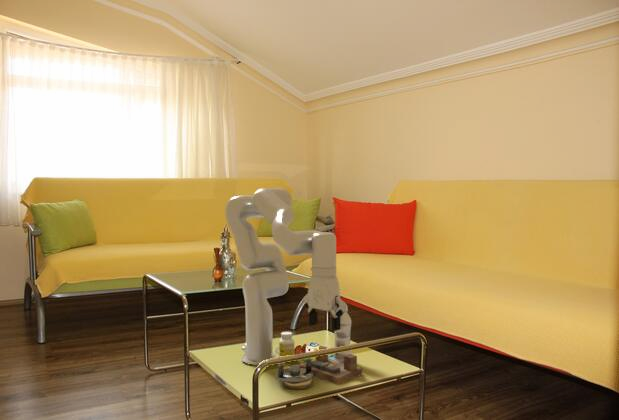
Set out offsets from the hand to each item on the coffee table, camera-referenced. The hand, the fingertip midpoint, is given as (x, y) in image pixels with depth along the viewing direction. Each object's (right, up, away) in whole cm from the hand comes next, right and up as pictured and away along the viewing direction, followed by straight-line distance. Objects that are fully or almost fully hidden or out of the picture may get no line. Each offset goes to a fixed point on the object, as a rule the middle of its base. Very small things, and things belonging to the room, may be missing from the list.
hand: (324, 327), depth 165 cm
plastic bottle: (+7, -18, +23) cm, 30 cm away
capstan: (-9, -18, +3) cm, 21 cm away
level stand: (+2, -18, +13) cm, 22 cm away
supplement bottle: (-13, -18, +26) cm, 34 cm away
